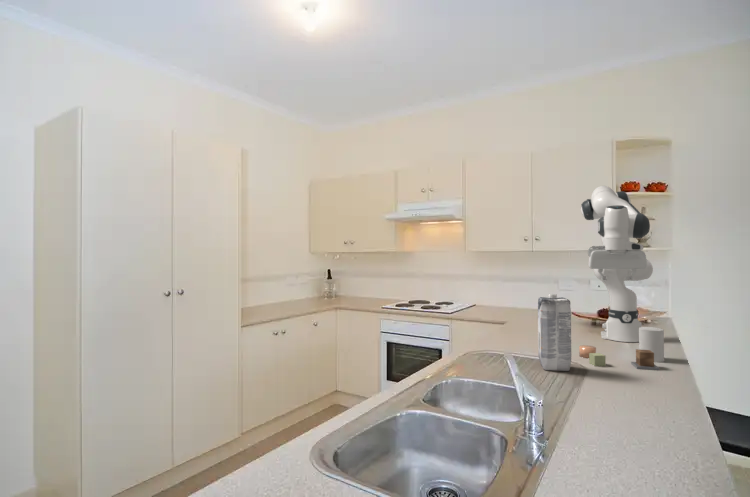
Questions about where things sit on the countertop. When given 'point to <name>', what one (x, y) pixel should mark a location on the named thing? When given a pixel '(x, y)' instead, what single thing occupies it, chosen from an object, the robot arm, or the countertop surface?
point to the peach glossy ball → (586, 350)
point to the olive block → (597, 359)
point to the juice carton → (554, 333)
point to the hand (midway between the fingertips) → (616, 280)
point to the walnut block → (645, 358)
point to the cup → (652, 341)
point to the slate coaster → (644, 366)
